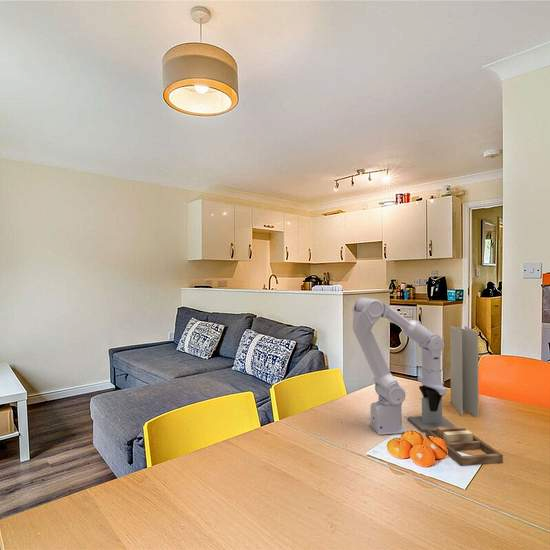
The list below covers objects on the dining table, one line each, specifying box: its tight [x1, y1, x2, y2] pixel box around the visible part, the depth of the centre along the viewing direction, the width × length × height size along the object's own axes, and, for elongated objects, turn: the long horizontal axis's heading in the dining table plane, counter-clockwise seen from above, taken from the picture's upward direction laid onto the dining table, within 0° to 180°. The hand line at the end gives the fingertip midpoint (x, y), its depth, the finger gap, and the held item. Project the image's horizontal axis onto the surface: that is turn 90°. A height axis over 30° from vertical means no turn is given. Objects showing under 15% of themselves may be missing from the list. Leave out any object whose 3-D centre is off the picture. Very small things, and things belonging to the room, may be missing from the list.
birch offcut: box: [443, 429, 474, 443], centre depth 107 cm, size 8×2×4 cm, turn 96°
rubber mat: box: [407, 415, 456, 434], centre depth 122 cm, size 12×10×1 cm
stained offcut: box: [437, 425, 466, 439], centre depth 111 cm, size 8×2×4 cm, turn 96°
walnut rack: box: [425, 428, 504, 467], centre depth 106 cm, size 12×18×2 cm, turn 6°
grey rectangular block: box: [421, 397, 443, 424], centre depth 122 cm, size 6×2×8 cm, turn 97°
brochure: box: [449, 325, 480, 418], centre depth 135 cm, size 14×6×30 cm, turn 168°
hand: (431, 409), depth 122 cm, fingers closed on grey rectangular block, 2 cm apart
